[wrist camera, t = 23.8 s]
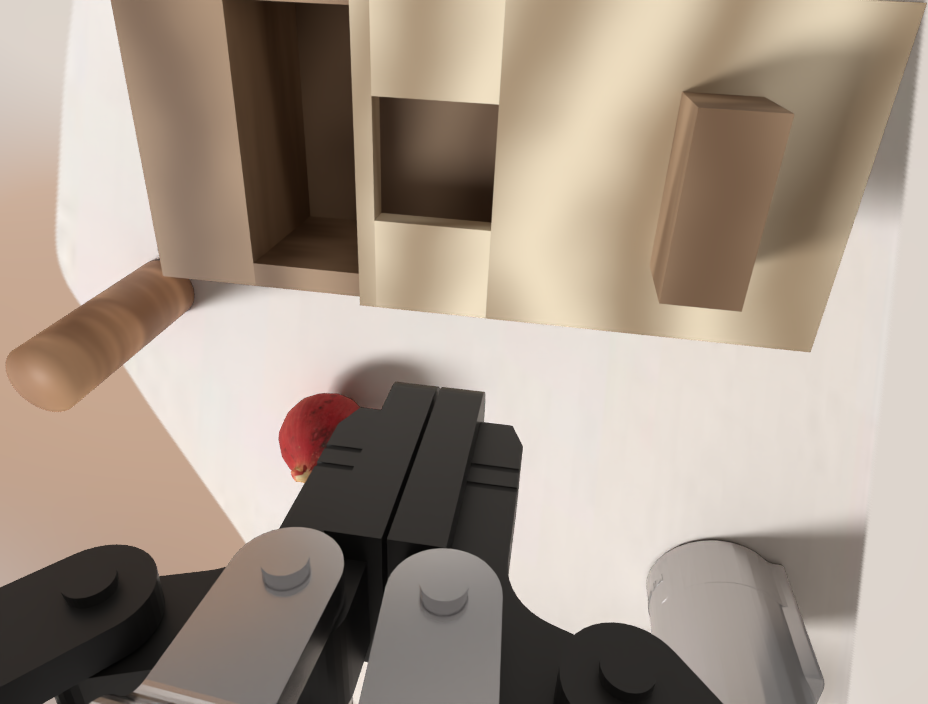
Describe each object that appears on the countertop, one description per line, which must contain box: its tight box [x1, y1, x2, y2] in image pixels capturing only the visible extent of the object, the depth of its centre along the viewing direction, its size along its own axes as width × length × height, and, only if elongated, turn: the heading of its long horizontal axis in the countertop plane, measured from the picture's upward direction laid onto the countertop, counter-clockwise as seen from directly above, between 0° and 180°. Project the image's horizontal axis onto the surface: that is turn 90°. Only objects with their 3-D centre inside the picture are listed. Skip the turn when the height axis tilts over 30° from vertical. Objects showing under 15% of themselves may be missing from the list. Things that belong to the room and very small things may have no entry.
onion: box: [279, 393, 360, 483], centre depth 44 cm, size 6×6×8 cm
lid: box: [349, 0, 927, 352], centre depth 26 cm, size 20×14×5 cm, turn 88°
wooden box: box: [111, 0, 499, 296], centre depth 33 cm, size 20×14×9 cm
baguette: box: [6, 260, 194, 412], centre depth 40 cm, size 4×4×12 cm
